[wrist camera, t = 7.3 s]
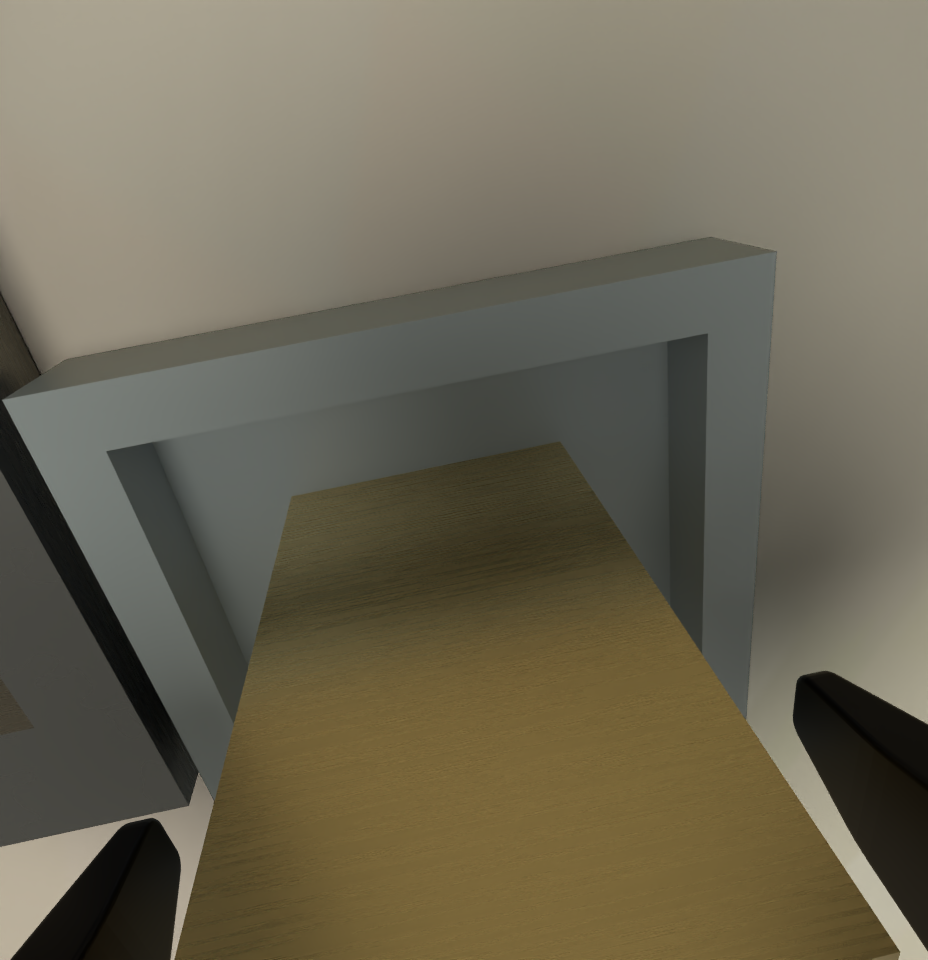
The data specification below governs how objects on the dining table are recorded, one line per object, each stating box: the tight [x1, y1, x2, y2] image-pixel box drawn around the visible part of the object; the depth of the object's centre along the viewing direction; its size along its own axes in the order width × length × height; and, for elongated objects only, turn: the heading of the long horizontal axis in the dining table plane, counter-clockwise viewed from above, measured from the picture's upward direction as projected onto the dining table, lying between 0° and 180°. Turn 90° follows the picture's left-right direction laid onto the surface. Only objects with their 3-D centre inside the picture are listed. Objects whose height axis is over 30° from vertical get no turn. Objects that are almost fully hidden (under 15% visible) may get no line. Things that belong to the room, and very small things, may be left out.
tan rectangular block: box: [175, 441, 900, 960], centre depth 9 cm, size 5×5×8 cm
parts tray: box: [2, 237, 777, 801], centre depth 12 cm, size 11×11×2 cm
